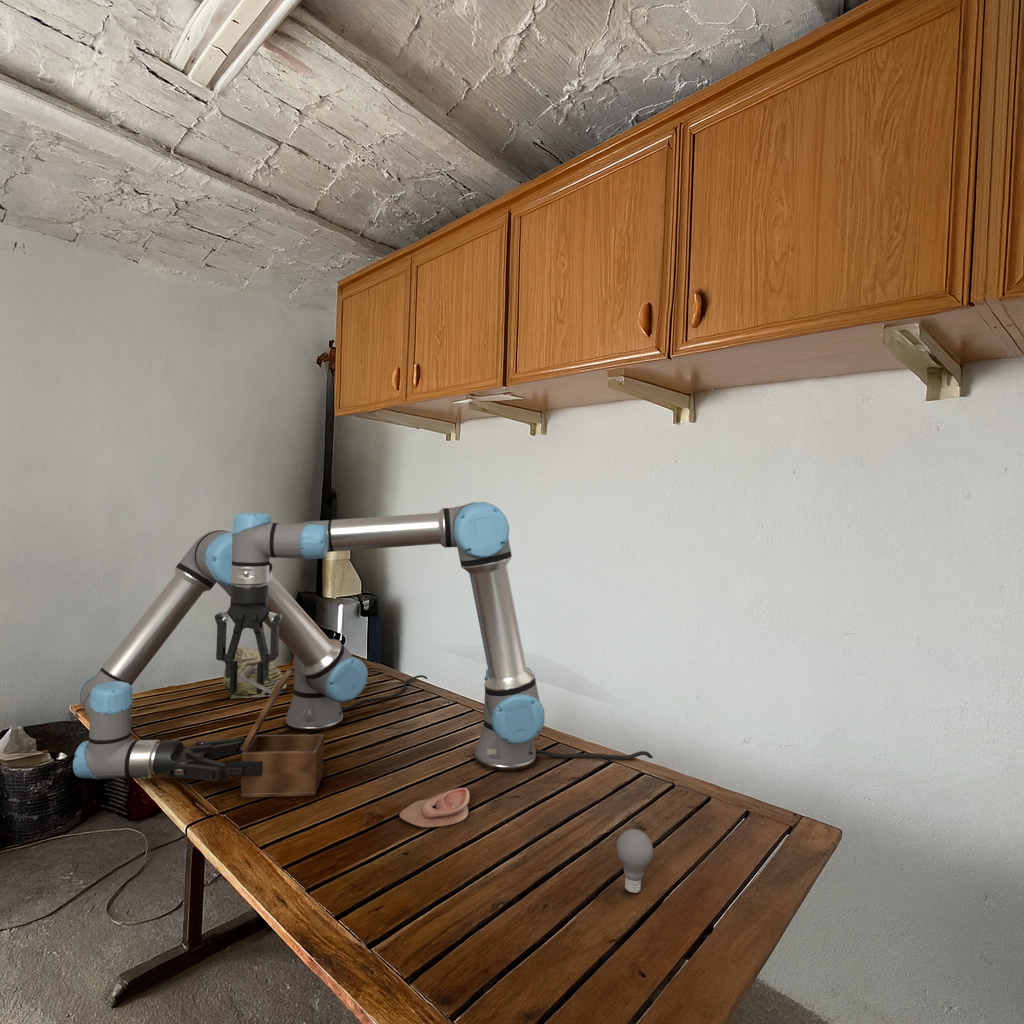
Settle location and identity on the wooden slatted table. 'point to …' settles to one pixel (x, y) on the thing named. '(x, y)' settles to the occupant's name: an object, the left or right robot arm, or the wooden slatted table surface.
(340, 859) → the wooden slatted table surface
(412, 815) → the anatomical model
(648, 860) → the light bulb
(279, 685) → the lid
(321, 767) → the chest
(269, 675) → the fossil
